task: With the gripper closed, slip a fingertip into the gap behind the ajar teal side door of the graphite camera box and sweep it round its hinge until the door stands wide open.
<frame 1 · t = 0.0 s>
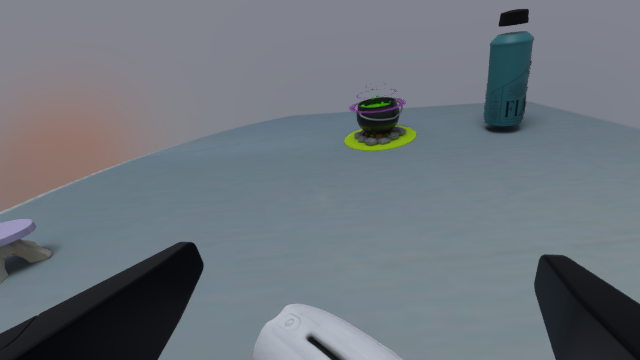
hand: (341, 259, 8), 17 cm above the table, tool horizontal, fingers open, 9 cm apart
toy table: (15, 267, 42), on the table
beverage bottle: (501, 129, 57), on the table
toy cauldron: (379, 138, 64), on the table
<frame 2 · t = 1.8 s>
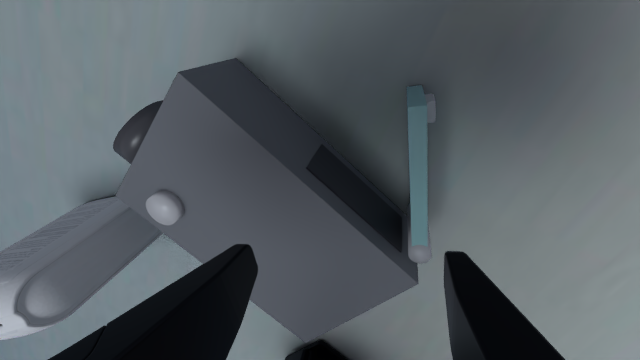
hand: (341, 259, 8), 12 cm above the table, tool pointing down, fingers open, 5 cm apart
photo printer: (129, 211, 28), on the table
camera box: (287, 189, 22), on the table
side door: (419, 173, 16), point 2 cm above the table, hinge at 40.0°
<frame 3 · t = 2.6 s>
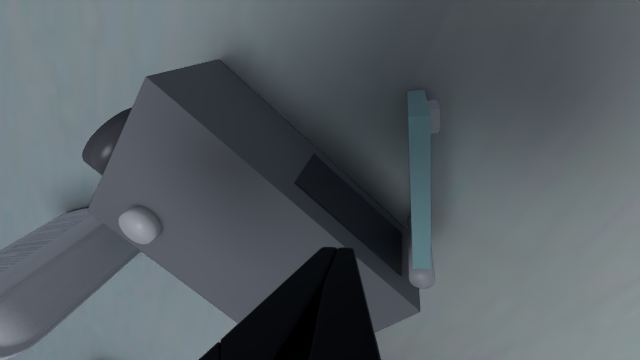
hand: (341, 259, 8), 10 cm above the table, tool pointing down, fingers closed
photo printer: (112, 222, 26), on the table
camera box: (277, 201, 20), on the table
side door: (421, 188, 15), point 2 cm above the table, hinge at 40.0°
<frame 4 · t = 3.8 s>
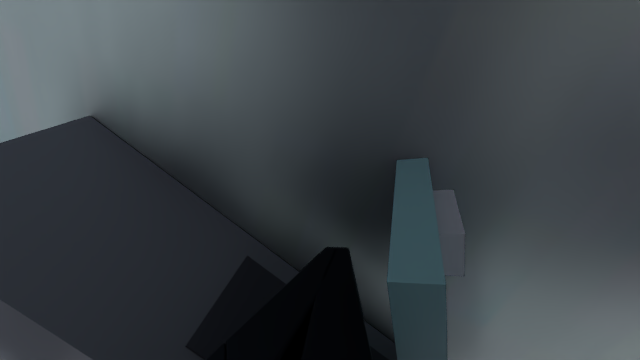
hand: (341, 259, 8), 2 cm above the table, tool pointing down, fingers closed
camera box: (217, 304, 14), on the table
side door: (428, 340, 8), point 2 cm above the table, hinge at 42.0°, touching gripper
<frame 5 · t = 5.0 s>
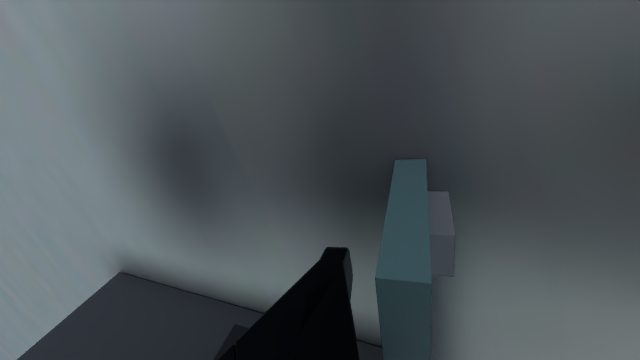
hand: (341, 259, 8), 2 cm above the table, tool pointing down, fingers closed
side door: (416, 338, 8), point 2 cm above the table, hinge at 79.2°, touching gripper
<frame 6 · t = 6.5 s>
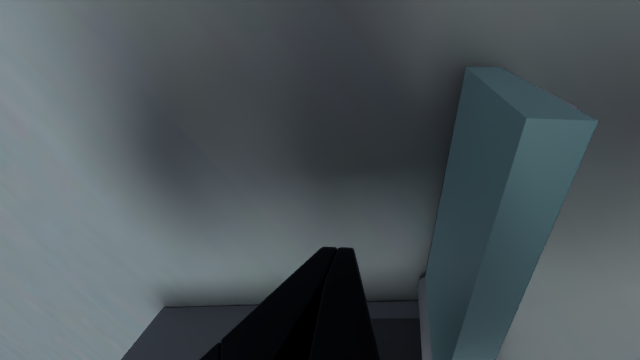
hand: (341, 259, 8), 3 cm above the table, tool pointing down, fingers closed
side door: (469, 255, 8), point 2 cm above the table, hinge at 106.7°
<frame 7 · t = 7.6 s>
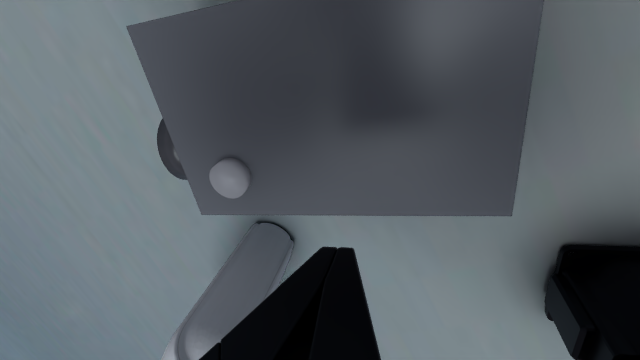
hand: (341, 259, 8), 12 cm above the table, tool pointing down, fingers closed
photo printer: (262, 262, 27), on the table
camera box: (340, 93, 18), on the table
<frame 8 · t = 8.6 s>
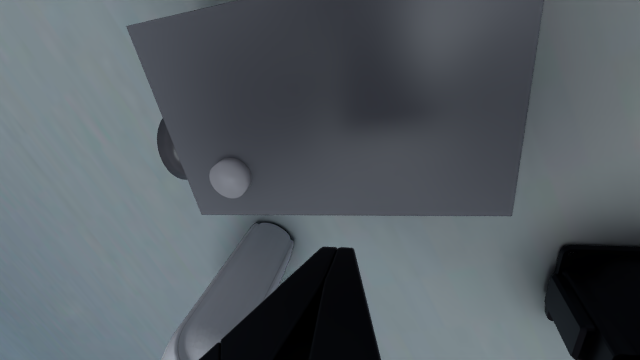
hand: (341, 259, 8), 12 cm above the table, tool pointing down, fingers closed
photo printer: (262, 262, 27), on the table
camera box: (340, 93, 18), on the table
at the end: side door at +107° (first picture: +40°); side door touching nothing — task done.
